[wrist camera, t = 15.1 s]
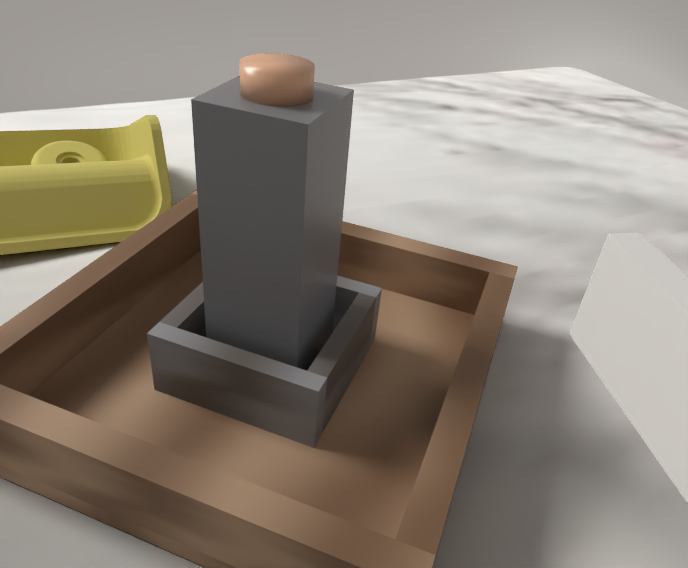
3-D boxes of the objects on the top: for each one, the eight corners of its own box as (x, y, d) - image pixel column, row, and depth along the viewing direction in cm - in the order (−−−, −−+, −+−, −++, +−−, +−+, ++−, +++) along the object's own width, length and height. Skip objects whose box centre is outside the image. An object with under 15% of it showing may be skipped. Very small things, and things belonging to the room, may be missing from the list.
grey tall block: (208, 379, 26) (189, 66, 19) (252, 326, 29) (251, 41, 22) (295, 408, 25) (310, 90, 18) (330, 350, 28) (356, 60, 21)
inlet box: (-54, 452, 23) (-87, 378, 21) (205, 238, 37) (202, 180, 35) (406, 656, 18) (426, 587, 16) (502, 321, 32) (519, 261, 30)
